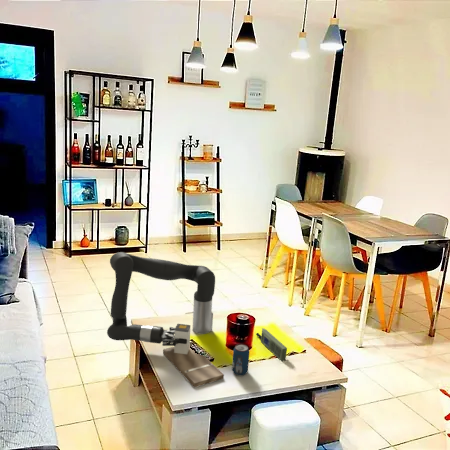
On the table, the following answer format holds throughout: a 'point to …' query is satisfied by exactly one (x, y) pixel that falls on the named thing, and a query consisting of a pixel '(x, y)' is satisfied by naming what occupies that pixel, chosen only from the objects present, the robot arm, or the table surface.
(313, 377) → the table surface
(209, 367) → the subfloor panel
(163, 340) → the robot arm
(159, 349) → the table surface
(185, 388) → the table surface
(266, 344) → the handheld radio
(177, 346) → the white tall block
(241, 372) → the soda can
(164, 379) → the table surface
